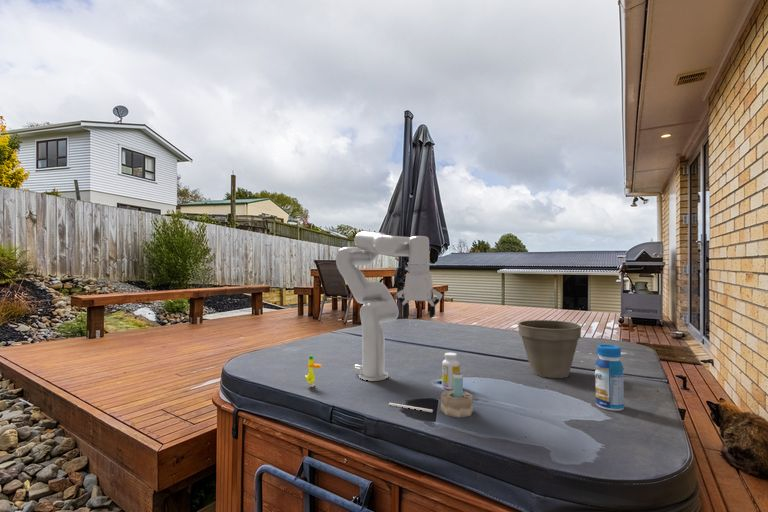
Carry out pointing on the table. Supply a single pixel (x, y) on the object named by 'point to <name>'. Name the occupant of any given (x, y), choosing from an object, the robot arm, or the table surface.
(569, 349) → the plant pot
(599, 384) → the beverage bottle
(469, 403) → the tan faceted bowl
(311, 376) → the toy figure
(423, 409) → the white flute
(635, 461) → the table surface
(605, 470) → the table surface
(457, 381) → the needle dowel
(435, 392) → the table surface
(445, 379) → the supplement bottle
